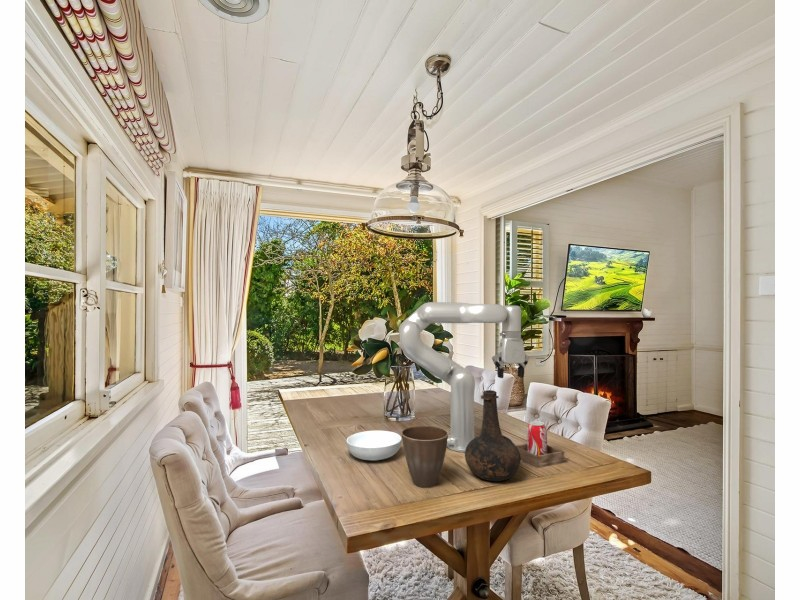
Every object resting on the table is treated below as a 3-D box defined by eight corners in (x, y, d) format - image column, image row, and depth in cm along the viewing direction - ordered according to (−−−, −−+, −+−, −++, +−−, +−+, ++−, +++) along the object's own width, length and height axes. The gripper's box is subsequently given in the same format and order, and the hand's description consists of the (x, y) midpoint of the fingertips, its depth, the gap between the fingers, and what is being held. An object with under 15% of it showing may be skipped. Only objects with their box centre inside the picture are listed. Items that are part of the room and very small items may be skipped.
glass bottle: (532, 479, 128) (530, 392, 129) (492, 492, 118) (491, 399, 119) (492, 461, 143) (491, 384, 144) (454, 472, 134) (453, 389, 135)
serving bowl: (376, 443, 164) (376, 426, 164) (413, 456, 149) (412, 438, 149) (335, 456, 149) (335, 438, 150) (371, 472, 135) (371, 451, 135)
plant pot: (458, 485, 123) (458, 434, 124) (419, 498, 115) (419, 443, 116) (429, 470, 136) (429, 423, 136) (393, 480, 128) (392, 430, 128)
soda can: (538, 460, 141) (537, 426, 142) (523, 454, 148) (522, 421, 148) (551, 456, 145) (550, 423, 145) (536, 451, 151) (535, 419, 152)
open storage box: (536, 468, 137) (536, 457, 137) (510, 454, 150) (510, 445, 150) (567, 461, 142) (566, 452, 143) (539, 449, 155) (539, 440, 155)
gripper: (498, 336, 155) (497, 379, 155) (534, 336, 161) (534, 378, 160) (488, 334, 162) (487, 376, 162) (523, 335, 168) (522, 375, 168)
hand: (510, 377), depth 161 cm, fingers open, 9 cm apart
